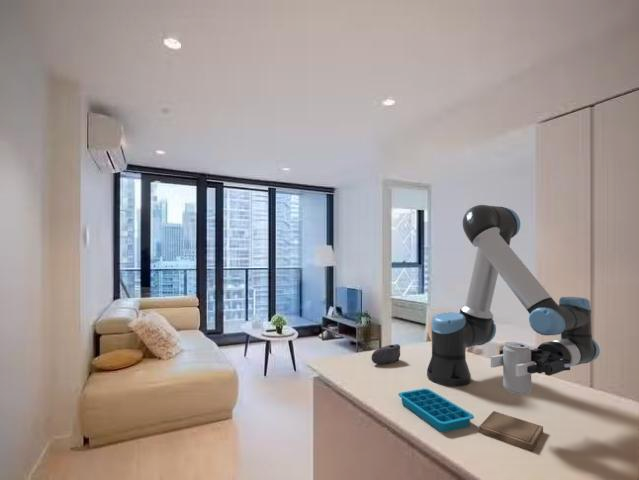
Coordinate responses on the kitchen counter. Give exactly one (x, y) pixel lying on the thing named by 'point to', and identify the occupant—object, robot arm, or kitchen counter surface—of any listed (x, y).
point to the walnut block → (512, 430)
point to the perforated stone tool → (386, 354)
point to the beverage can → (512, 357)
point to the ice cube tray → (436, 409)
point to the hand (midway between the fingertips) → (504, 366)
